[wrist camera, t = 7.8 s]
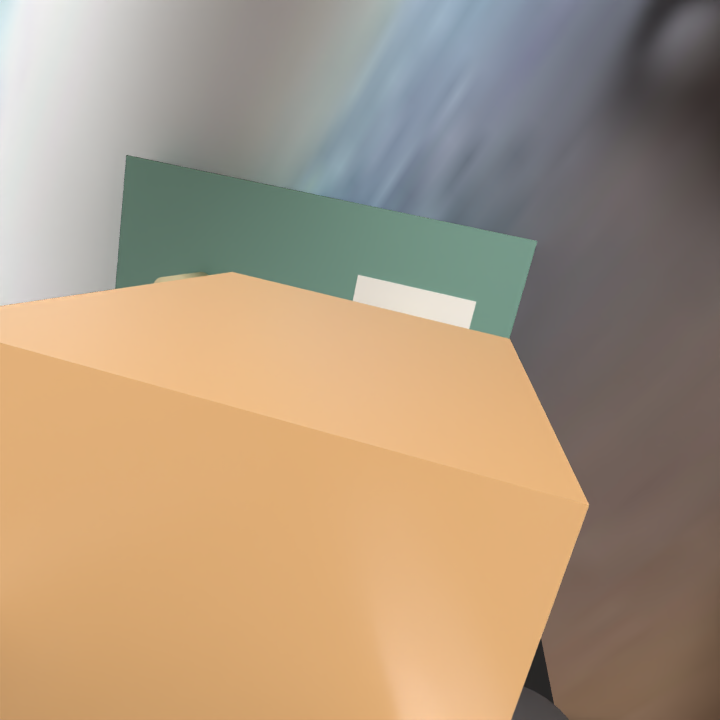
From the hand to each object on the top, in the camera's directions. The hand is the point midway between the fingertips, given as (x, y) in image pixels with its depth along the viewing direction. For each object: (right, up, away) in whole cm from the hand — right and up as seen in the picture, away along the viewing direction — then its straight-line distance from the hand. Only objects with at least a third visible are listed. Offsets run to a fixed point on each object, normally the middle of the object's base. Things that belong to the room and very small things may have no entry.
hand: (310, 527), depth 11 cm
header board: (-1, +4, +14) cm, 15 cm away
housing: (0, 0, +1) cm, 1 cm away
